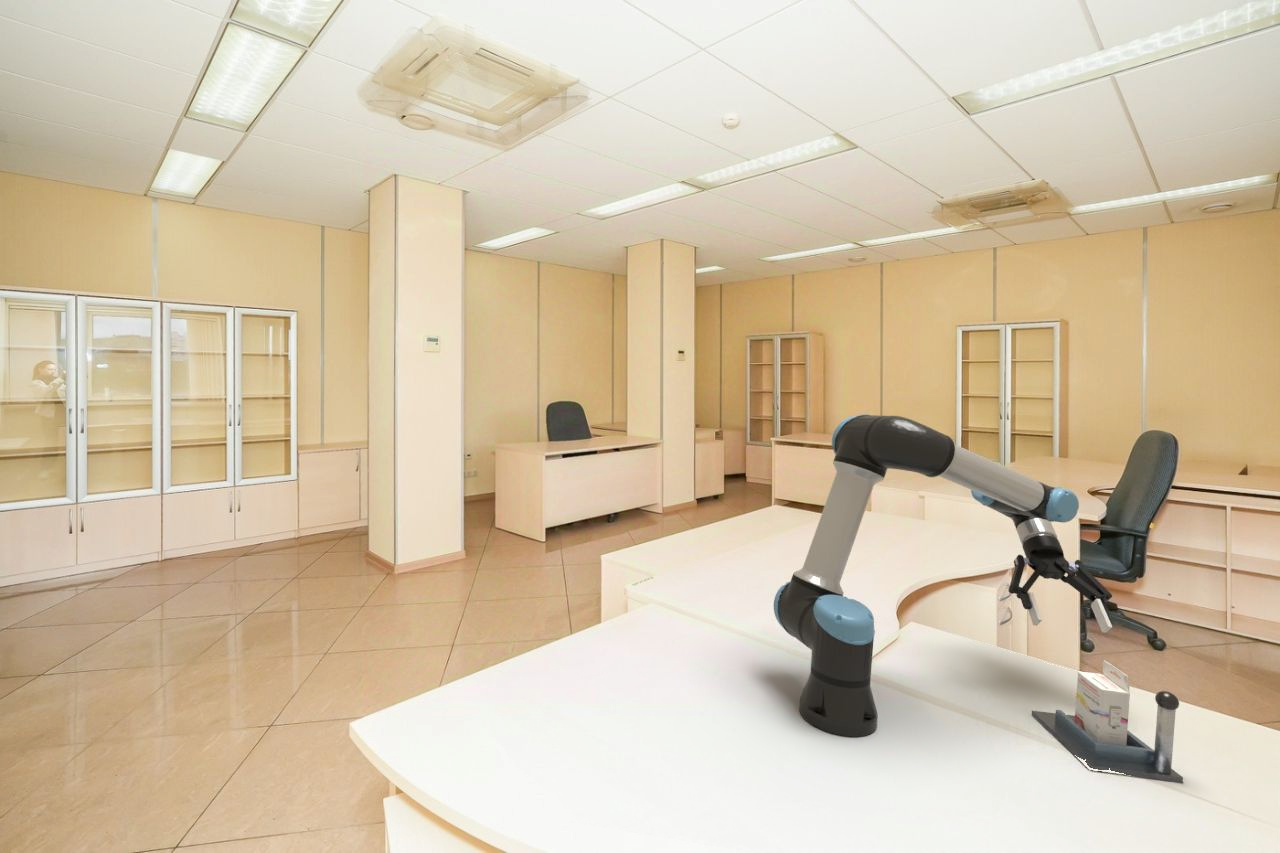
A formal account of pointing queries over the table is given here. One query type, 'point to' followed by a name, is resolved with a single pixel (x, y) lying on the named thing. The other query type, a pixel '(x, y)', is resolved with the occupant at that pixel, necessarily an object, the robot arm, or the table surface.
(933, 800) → the table surface
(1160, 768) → the keeper bracket
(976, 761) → the table surface
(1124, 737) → the ink cartridge box
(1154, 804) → the table surface
